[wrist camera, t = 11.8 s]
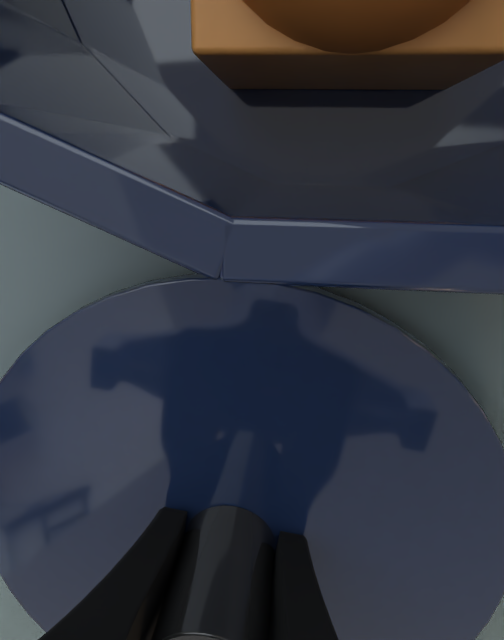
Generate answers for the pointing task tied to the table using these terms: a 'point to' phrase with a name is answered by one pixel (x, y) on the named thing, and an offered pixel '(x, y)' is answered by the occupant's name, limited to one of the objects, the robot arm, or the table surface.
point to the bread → (347, 42)
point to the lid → (251, 462)
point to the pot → (248, 156)
